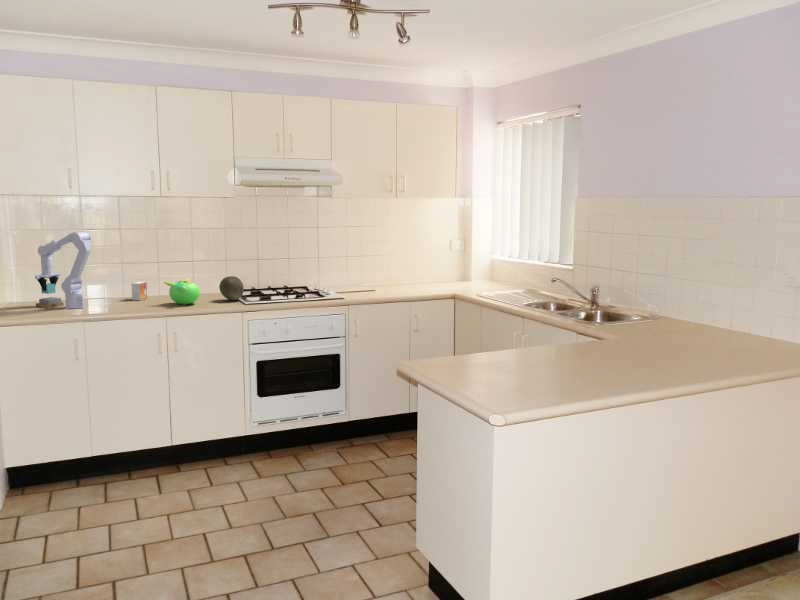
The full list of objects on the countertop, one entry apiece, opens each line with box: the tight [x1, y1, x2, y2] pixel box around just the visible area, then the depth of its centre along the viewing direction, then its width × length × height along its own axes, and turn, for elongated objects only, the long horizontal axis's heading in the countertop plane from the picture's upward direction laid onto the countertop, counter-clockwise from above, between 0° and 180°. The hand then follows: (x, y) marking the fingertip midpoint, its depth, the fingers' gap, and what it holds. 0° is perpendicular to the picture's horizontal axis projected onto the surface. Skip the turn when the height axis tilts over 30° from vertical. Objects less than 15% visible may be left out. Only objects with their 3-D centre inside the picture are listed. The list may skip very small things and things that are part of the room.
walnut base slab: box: [35, 301, 64, 309], centre depth 390 cm, size 10×10×2 cm
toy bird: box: [163, 278, 201, 306], centre depth 400 cm, size 18×17×15 cm
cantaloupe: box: [218, 275, 245, 302], centre depth 415 cm, size 14×14×15 cm
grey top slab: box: [38, 296, 62, 304], centre depth 389 cm, size 8×8×2 cm
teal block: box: [40, 282, 56, 295], centre depth 388 cm, size 5×5×5 cm
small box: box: [131, 281, 148, 301], centre depth 415 cm, size 8×6×10 cm
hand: (48, 290), depth 388 cm, fingers closed on teal block, 5 cm apart
